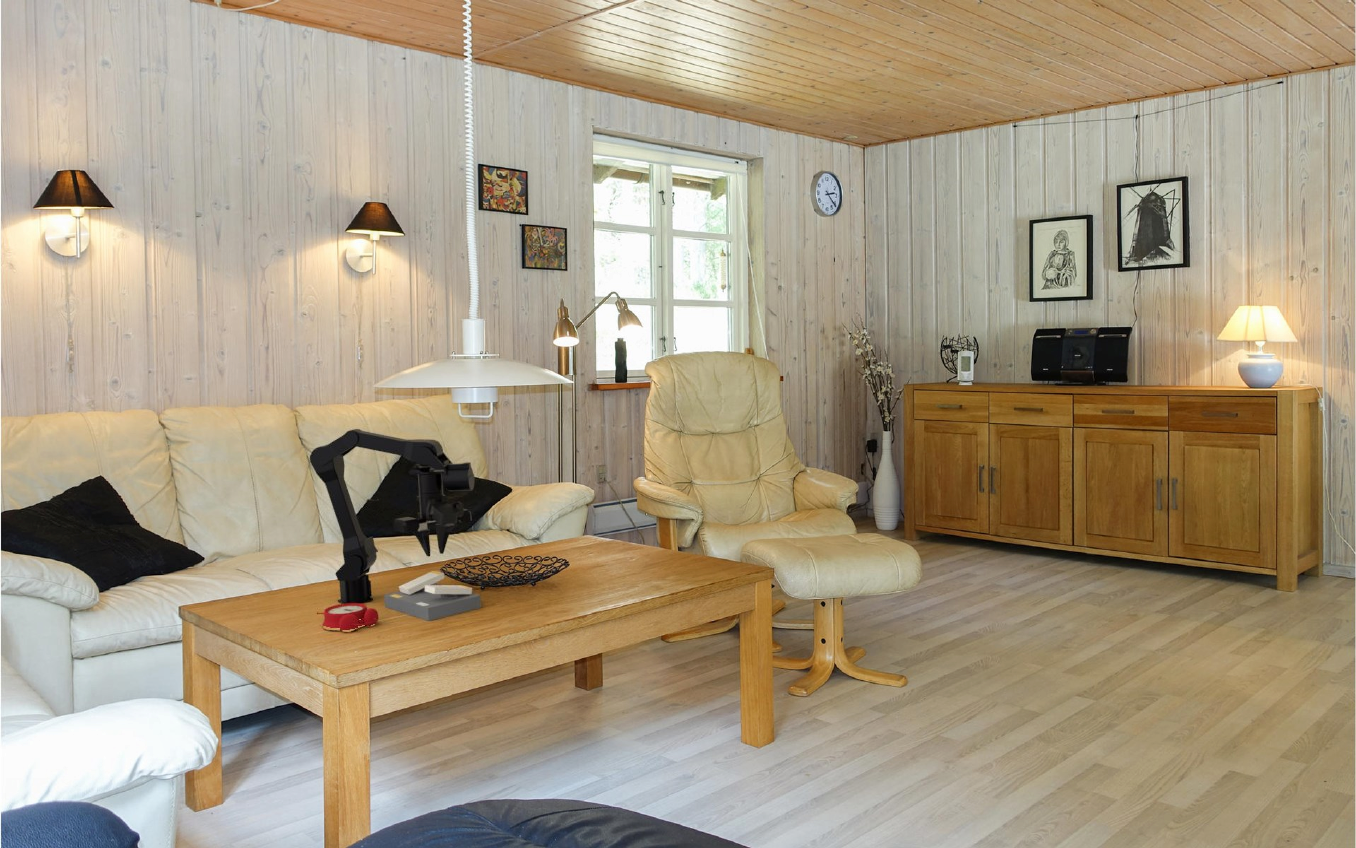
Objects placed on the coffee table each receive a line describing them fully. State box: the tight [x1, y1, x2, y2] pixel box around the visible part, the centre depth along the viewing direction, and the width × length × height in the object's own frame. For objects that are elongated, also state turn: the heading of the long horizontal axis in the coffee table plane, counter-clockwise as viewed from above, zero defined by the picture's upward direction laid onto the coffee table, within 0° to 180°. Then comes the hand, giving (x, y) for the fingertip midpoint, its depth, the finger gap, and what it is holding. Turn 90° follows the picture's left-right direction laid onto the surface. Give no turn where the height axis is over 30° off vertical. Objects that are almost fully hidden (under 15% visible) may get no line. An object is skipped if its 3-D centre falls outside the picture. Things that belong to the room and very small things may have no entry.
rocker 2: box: [425, 584, 473, 594], centre depth 238 cm, size 10×4×2 cm, turn 134°
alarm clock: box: [316, 603, 379, 630], centre depth 229 cm, size 10×6×15 cm
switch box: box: [383, 582, 482, 622], centre depth 242 cm, size 14×20×4 cm
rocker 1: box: [398, 570, 446, 595], centre depth 247 cm, size 10×4×2 cm, turn 134°
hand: (435, 555), depth 249 cm, fingers open, 3 cm apart
